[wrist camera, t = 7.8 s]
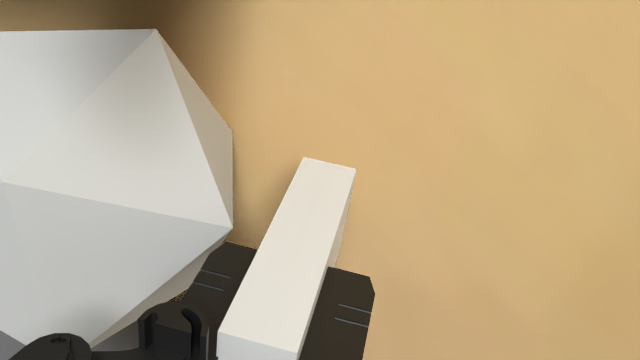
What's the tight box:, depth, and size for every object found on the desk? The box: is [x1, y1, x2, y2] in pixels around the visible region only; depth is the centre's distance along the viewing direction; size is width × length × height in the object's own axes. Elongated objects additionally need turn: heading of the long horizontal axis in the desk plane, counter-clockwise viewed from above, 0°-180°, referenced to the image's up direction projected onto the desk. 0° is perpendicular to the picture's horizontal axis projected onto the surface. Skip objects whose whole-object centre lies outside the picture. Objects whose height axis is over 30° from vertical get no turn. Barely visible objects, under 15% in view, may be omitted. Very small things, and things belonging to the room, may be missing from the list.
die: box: [0, 29, 233, 348], centre depth 15 cm, size 8×9×10 cm
